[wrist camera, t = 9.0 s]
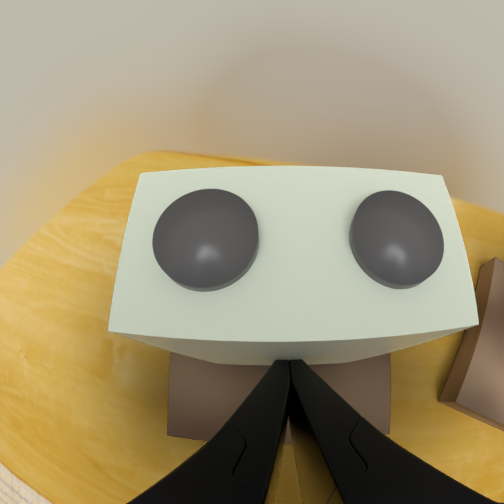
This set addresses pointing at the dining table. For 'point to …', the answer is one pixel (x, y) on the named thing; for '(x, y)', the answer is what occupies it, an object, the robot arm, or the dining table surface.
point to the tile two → (291, 264)
